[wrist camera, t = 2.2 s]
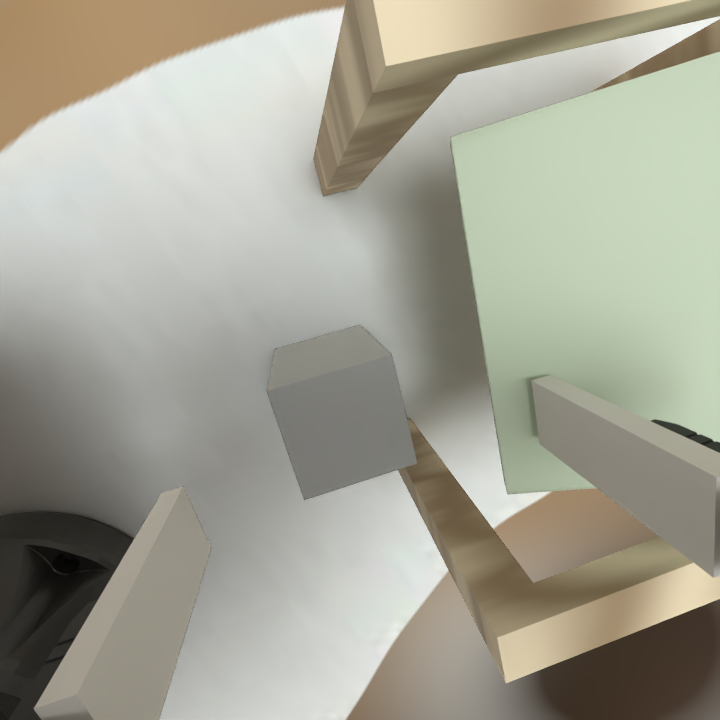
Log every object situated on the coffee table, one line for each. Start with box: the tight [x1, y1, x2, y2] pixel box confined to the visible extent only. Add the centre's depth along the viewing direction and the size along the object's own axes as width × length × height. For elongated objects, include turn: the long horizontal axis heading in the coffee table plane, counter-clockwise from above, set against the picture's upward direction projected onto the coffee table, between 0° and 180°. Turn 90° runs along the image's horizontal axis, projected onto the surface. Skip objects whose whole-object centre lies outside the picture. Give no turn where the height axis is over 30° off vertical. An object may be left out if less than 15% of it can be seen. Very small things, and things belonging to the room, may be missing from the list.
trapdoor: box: [450, 52, 720, 494], centre depth 14 cm, size 14×14×4 cm
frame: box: [313, 0, 720, 683], centre depth 17 cm, size 19×19×16 cm
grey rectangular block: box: [267, 325, 417, 500], centre depth 21 cm, size 6×6×8 cm
